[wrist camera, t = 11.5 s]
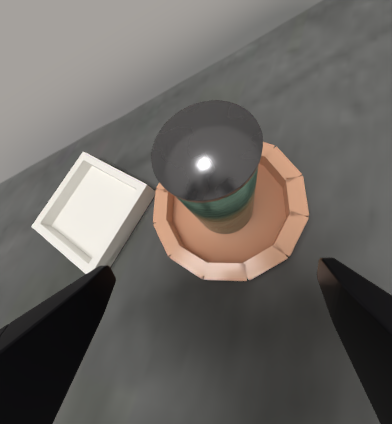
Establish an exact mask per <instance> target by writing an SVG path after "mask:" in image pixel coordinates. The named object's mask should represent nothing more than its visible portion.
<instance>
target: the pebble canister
mask: <svg viewBox="0 0 392 424" xmlns="http://www.w3.org/2000/svg"><path fill="white" fill-rule="evenodd" d="M262 149H263V136H262V131H261V128H260V126H259V124H258V122H257V120H256V119H255V118H254V116H253V115H252V114H251V113H250V112H249V111H248V110H246V109H245V108H243V107H241V106H239V105H237V104H234V103H231V102H227V101H219V100H212V101H204V102H200V103H196V104H193V105H190V106H188V107H186V108H184V109H183V110H181V111H179V112H178V113H176V114H175V115H174V116H172V117H171V118H170V119H169V120H168V121H167V122H166V123H165V124H164V126H163V127H162V128H161V130H160V131H159V133H158V135H157V137H156V139H155V141H154V144H153V148H152V155H151V161H152V167H153V171H154V174H155V176H156V178H157V179H158V181H159V183H160V184H161V185H162V186H163V187H164V188H165V189H166V190H167V191H168V192H170V193H171V194H172V195H174V196H175V197H176V198H177V199H178V200H179V201H180V202H181V203H182V204H183V205H184V206H185V207H186V208H187V209H188V210H189V211H190V212H191V213H192V214H193V215H194V216H195V217H196V218H197V219H198V220H199V221H200V222H201V223H202V224H203V225H204V226H205V227H206V228H208V229H209V230H211V231H213V232H215V233H219V234H230V233H234V232H237V231H238V230H240V229H242V228H243V227H244V226H245V225H246V224H247V223H248V222H249V220H250V218H251V216H252V212H253V205H254V197H255V189H256V181H257V173H258V165H259V163H260V160H261V156H262Z"/></svg>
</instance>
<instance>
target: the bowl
mask: <svg viewBox="0 0 392 424" xmlns="http://www.w3.org/2000/svg"><path fill="white" fill-rule="evenodd" d="M274 147H275V146H274V145H271V144H268V143H265V142H263V149H262V156H261V160H260V163H259V165H258V173H257V181H256V189H255V197H254V205H253V212H252V216H251V218H250V220H249V222H248V223H247V224H246V225H245V226H244V227H243V228H242V229H240V230H238V231H237V232H234V233H230V234H219V233H215V232H213V231H211V230H209V229H208V228H206V227H205V226H204V225H203V224H202V223H201V222H200V221H199V220H198V219H197V218H196V217H195V216H194V215H193V214H192V213H191V212H190V211H189V210H188V209H187V208H186V207H185V206H184V205H183V204H182V203H181V202H180V201H179V200H178V199H177V198H176V197H175V196H174V195H172V194H171V193H170V192H168V191H167V190H166V189H165V188H164V187H163V186H162V185H161V184H160V183H159V184H158V186H157V187H156V188H157V190H156V191H155V203H154V215H153V223H155V224H153V225H154V227H155V229H156V231H157V233H158V236H159V238H160V240H161V242H162V244H163V246H164V248H165V250H166V253H167V255H168V256H170V258H171V259H172V260H174V261H175V262H177V263H178V264H180V265H181V266H183V267H184V268H186V269H187V270H189V271H190V272H192V273H193V274H195V275H196V276H198V277H199V278H201V279H204V280H227V281H247V278H248V279H249V280H251V279H253V278H255V277H256V276H258V275H260V274H262V273H263V272H265V271H267V270H268V269H270V268H272V267H274V266H275V265H277V264H279V263H281V262H282V261H284V260H286V259H287V258H288V257H289V256H290V255H291V253H292V251H293V249H294V247H295V245H296V243H297V241H298V239H299V237H300V235H301V233H302V230H303V228H304V226H305V224H306V222H307V220H308V216H309V212H308V205H307V199H306V193H305V186H304V180H303V176H301V175H302V174H301V173H300V172H299V170H298V169H297V168H296V167H295V166H294V165H293V164H292V163H291V162H290V161H289V160H288V159H287V157H286V156H285V155H284V154H283V153H282V152H281V151H280V150H279V149H278V148H277V147H275V148H274Z"/></svg>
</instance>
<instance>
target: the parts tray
mask: <svg viewBox="0 0 392 424" xmlns="http://www.w3.org/2000/svg"><path fill="white" fill-rule="evenodd" d="M154 196H155V191H154V190H153V189H152V188H151V187H149V186H148V185H147V184H145V183H143V182H141V181H139V180H137V179H135V178H133V177H131V176H129V175H128V174H126V173H124V172H122V171H120V170H118V169H116V168H114V167H112V166H110V165H108V164H106V163H104V162H102V161H100V160H99V159H97V158H95V157H93V156H91V155H89V154H87V153H85V152H83V153H82V154H81V156H80V157H79V158H78V160H77V161H76V163H75V164H74V166H73V167H72V169H71V170H70V171H69V173H68V174H67V176H66V177H65V179H64V180H63V182H62V183H61V184H60V186H59V187H58V189H57V190H56V192H55V193H54V195H53V196H52V197H51V199H50V200H49V202H48V203H47V205H46V206H45V208H44V209H43V210H42V212H41V213H40V215H39V216H38V218H37V219H36V221H35V222H34V223H33V225H32V226H31V227H33V228H34V229H35V230H36V231H37V232H38V233H39V234H41V235H42V236H43V237H44V238H45V239H46V240H47V241H49V242H50V243H51V244H52V245H53V246H54V247H55V248H57V249H58V250H59V251H60V252H61V253H62V254H63V255H65V256H66V257H67V258H68V259H69V260H70V261H71V262H73V263H74V264H75V265H76V266H77V267H78V268H80V269H81V270H82V271H83V272H84V273H85V274H87V273H89V272H90V271H92V270H93V269H95V268H96V267H98V266H101V265H108V266H110V267H111V266H112V264H113V262H114V261H115V259H116V257H117V256H118V254H119V253H120V251H121V249H122V248H123V246H124V245H125V243H126V241H127V240H128V238H129V236H130V235H131V233H132V232H133V230H134V228H135V227H136V225H137V223H138V222H139V220H140V219H141V217H142V215H143V214H144V212H145V210H146V209H147V207H148V206H149V204H150V202H151V201H152V199H153V197H154Z"/></svg>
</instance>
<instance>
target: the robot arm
mask: <svg viewBox="0 0 392 424" xmlns="http://www.w3.org/2000/svg"><path fill="white" fill-rule="evenodd" d="M317 278H318V282H319V285H320V287H321V290H322V293H323V296H324V299H325V302H326V305H327V308H328V310H329V313H330V316H331V319H332V321H333V324H334V326H335V328H336V331H337V333H338V335H339V337H340V339H341V341H342V343H343V345H344V347H345V350H346V352H347V354H348V356H349V358H350V360H351V362H352V364H353V366H354V369H355V371H356V373H357V375H358V377H359V379H360V381H361V383H362V385H363V388H364V390H365V392H366V394H367V396H368V398H369V400H370V402H371V404H372V407H373V409H374V411H375V413H376V415H377V417H378V419H379V421H380V423H381V424H392V295H390V294H389V293H387V292H385V291H384V290H382V289H381V288H379V287H378V286H376V285H375V284H373V283H372V282H370V281H368V280H367V279H365V278H364V277H362V276H361V275H359V274H358V273H356V272H354V271H353V270H351V269H350V268H348V267H347V266H345V265H344V264H342V263H341V262H339V261H337V260H336V259H334V258H320V260H319V264H318V271H317ZM115 281H116V278H115V276H114V274H113V272H112V270H111V268H110V266H108V265H101V266H98V267H96V268H95V269H93V270H92V271H90V272H89V273H87V274H86V275H84V276H82V277H81V278H79V279H78V280H76V281H75V282H73V283H72V284H70V285H68V286H67V287H65V288H64V289H62V290H61V291H59V292H58V293H56V294H54V295H53V296H51V297H50V298H48V299H47V300H45V301H44V302H42V303H40V304H39V305H37V306H36V307H34V308H33V309H31V310H29V311H28V312H26V313H25V314H23V315H22V316H20V317H19V318H17V319H15V320H14V321H12V322H11V323H10V324H8V325H6V326H4V327H3V328H1V329H0V424H53V422H54V419H55V417H56V415H57V413H58V411H59V409H60V407H61V404H62V402H63V400H64V398H65V396H66V394H67V392H68V390H69V387H70V385H71V383H72V381H73V379H74V377H75V375H76V372H77V370H78V368H79V366H80V364H81V362H82V360H83V357H84V355H85V353H86V351H87V349H88V347H89V345H90V342H91V340H92V338H93V336H94V334H95V332H96V330H97V327H98V325H99V323H100V321H101V319H102V317H103V314H104V312H105V309H106V307H107V304H108V301H109V298H110V296H111V293H112V290H113V287H114V285H115Z"/></svg>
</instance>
